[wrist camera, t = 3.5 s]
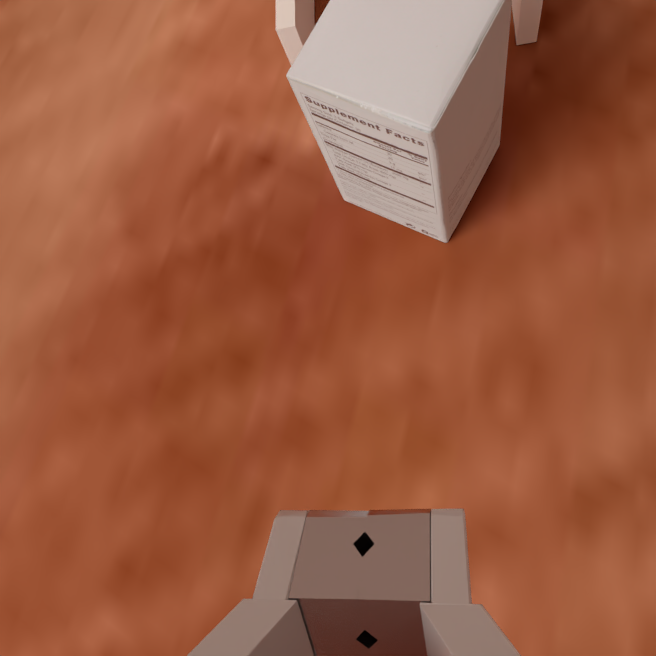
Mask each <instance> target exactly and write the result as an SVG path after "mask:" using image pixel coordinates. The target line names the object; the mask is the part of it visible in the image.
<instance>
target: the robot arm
mask: <svg viewBox="0 0 656 656" xmlns="http://www.w3.org/2000/svg"><path fill="white" fill-rule="evenodd" d="M187 656H521V655H520V654H519V652H518V651H517V650H516V648H515V647H514V646H513V645H512V643H511V642H510V641H509V639H508V638H507V637H506V635H505V634H504V633H503V631H502V630H501V629H500V628H499V626H498V625H497V624H496V622H495V621H494V620H493V618H492V617H491V616H490V614H489V613H488V612H487V611H486V609H485V608H484V607H483V605H482V604H472V598H471V585H470V572H469V559H468V546H467V533H466V520H465V512H464V509H400V510H369V511H336V510H280V511H279V513H278V514H277V516H276V517H275V519H274V523H273V527H272V530H271V534H270V537H269V541H268V544H267V548H266V552H265V555H264V559H263V562H262V566H261V569H260V573H259V577H258V580H257V584H256V587H255V591H254V595H253V598H252V599H243V600H242V601H241V602H240V603H239V604H238V605H237V606H236V607H235V608H234V609H233V610H232V611H231V612H230V613H229V614H228V615H227V616H226V617H225V618H224V619H223V620H222V621H221V622H220V623H219V624H218V625H217V626H216V627H215V628H214V629H213V630H212V631H211V632H210V633H209V634H208V635H207V636H206V637H205V638H204V639H203V640H202V641H201V642H200V643H199V644H198V645H197V646H196V647H195V648H194V649H193V650H192V651H191V652H190V653H189V654H188V655H187Z"/></svg>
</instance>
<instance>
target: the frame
mask: <svg viewBox="0 0 656 656" xmlns="http://www.w3.org/2000/svg"><path fill="white" fill-rule="evenodd" d="M542 4H543V0H512V11H513V20H514V28H515V37H516V45H520V44H526V43H532V42H537V36H538V30H539V23H540V17H541V11H542ZM314 27H315V19H314V0H276V31H277V34H278V36H279V38H280V41H281V43H282V45H283V48H284V50H285V52H286V54H287V57H288V59H289V61H290V64H291V66H292V64H293V63H294V61H295V59H296V57H297V56H298V54H299V52H300V51H301V49H302V47H303V46H304V44H305V42H306V41H307V39H308V37H309V35H310V34H311V32H312V30H313V29H314Z"/></svg>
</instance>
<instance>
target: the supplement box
mask: <svg viewBox="0 0 656 656" xmlns="http://www.w3.org/2000/svg"><path fill="white" fill-rule="evenodd" d="M511 6H512V0H330V1H329V3H328V4H327V6H326V8H325V10H324V11H323V13H322V15H321V17H320V18H319V20H318V22H317V23H316V25H315V27H314V29H313V30H312V32H311V34H310V35H309V37H308V39H307V41H306V42H305V44H304V46H303V47H302V49H301V51H300V52H299V54H298V56H297V57H296V59H295V61H294V63H293V64H292V66H291V68H290V69H289V71H288V73H287V75H286V77H287V78H288V81H289V83H290V85H291V87H292V89H293V91H294V93H295V96H296V98H297V100H298V102H299V104H300V106H301V108H302V111H303V113H304V115H305V117H306V119H307V122H308V124H309V126H310V128H311V130H312V132H313V135H314V137H315V139H316V141H317V143H318V145H319V147H320V149H321V152H322V154H323V156H324V158H325V160H326V162H327V164H328V167H329V169H330V171H331V173H332V175H333V178H334V180H335V182H336V184H337V186H338V188H339V191H340V193H341V195H342V197H343V199H344V200H345V201H347V202H350V203H353V204H355V205H357V206H359V207H362V208H364V209H366V210H369V211H371V212H373V213H376V214H378V215H380V216H383V217H385V218H387V219H390V220H392V221H394V222H397V223H399V224H401V225H404V226H406V227H409V228H411V229H413V230H415V231H418V232H420V233H423V234H425V235H428V236H430V237H432V238H435V239H437V240H439V241H442V242H445V243H447V242H448V241H449V239H450V237H451V235H452V233H453V232H454V230H455V228H456V226H457V225H458V223H459V221H460V219H461V217H462V215H463V213H464V212H465V210H466V208H467V206H468V204H469V202H470V200H471V198H472V197H473V195H474V193H475V191H476V189H477V187H478V185H479V183H480V181H481V180H482V178H483V176H484V174H485V172H486V170H487V168H488V166H489V164H490V162H491V161H492V159H493V157H494V155H495V153H496V151H497V149H498V147H499V146H500V135H501V124H502V112H503V100H504V88H505V77H506V64H507V53H508V41H509V29H510V18H511Z"/></svg>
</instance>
